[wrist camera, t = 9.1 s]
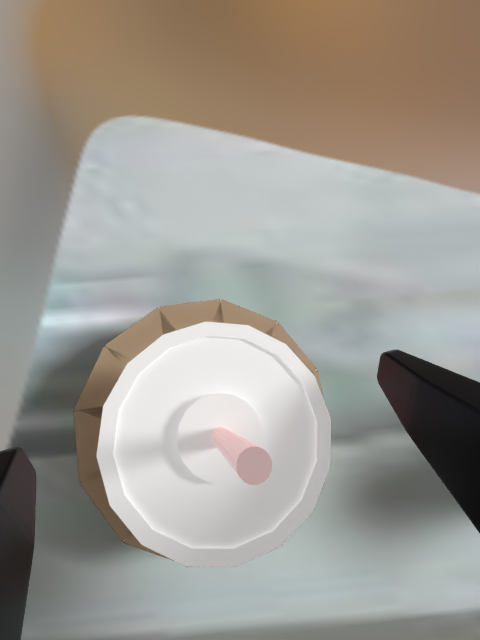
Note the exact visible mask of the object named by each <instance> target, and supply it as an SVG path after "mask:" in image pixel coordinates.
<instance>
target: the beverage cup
mask: <svg viewBox="0 0 480 640" xmlns="http://www.w3.org/2000/svg"><path fill="white" fill-rule="evenodd" d="M96 456H97V460H98V464H99V468H100V471H101V475H102V479H103V483H104V486H105V490H106V494H107V498H108V501H109V505H110V507H111V508H112V509H113V510H114V511H115V513H116V514H117V515H118V516H119V518H120V519H121V520H122V521H123V523H124V524H125V525H126V526H127V528H128V529H129V530H130V531H131V532H132V534H133V535H134V536H135V537H136V539H137V540H138V541H139V542H140V544H141V545H143V546H145V547H147V548H149V549H151V550H153V551H155V552H157V553H159V554H162V555H164V556H166V557H168V558H170V559H172V560H174V561H176V562H178V563H180V564H182V565H184V566H186V567H237V566H239V565H241V564H243V563H245V562H247V561H250V560H252V559H254V558H256V557H258V556H260V555H263V554H265V553H267V552H269V551H271V550H274V549H276V548H278V547H280V546H282V545H283V543H284V542H285V541H286V540H287V539H288V538H289V537H290V536H291V535H292V533H293V532H294V531H295V530H296V529H297V528H298V527H299V526H300V525H301V524H302V522H303V521H304V520H305V519H306V518H307V517H308V516H309V515H310V514H311V513H312V511H313V510H314V509H315V506H316V503H317V501H318V498H319V495H320V493H321V490H322V487H323V485H324V482H325V479H326V477H327V474H328V471H329V469H330V466H331V418H330V415H329V412H328V410H327V407H326V404H325V402H324V399H323V397H322V394H321V391H320V389H319V386H318V383H317V381H316V378H315V376H314V375H313V374H312V373H311V372H310V370H309V369H308V368H307V367H306V366H305V365H304V364H303V363H302V362H301V360H300V359H299V358H298V357H297V356H296V355H295V354H294V353H293V351H292V350H291V349H290V348H289V347H288V346H287V345H286V344H285V343H283V342H281V341H279V340H277V339H275V338H273V337H271V336H269V335H267V334H265V333H263V332H261V331H259V330H257V329H255V328H253V327H251V326H249V325H241V324H229V323H216V322H202V323H199V324H196V325H193V326H189V327H186V328H183V329H180V330H177V331H173V332H170V333H167V334H164V335H162V336H161V337H160V338H158V339H157V340H156V341H155V342H153V343H152V344H151V345H150V346H148V347H147V348H146V349H145V350H144V351H142V352H141V353H140V354H139V355H137V356H136V357H135V358H134V359H132V360H131V361H130V362H129V363H127V365H126V367H125V368H124V370H123V372H122V374H121V375H120V377H119V379H118V381H117V383H116V384H115V386H114V388H113V390H112V391H111V393H110V395H109V397H108V398H107V400H106V402H105V404H104V405H103V411H102V418H101V426H100V433H99V440H98V448H97V455H96Z"/></svg>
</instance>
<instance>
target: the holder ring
mask: <svg viewBox="0 0 480 640" xmlns="http://www.w3.org/2000/svg"><path fill="white" fill-rule="evenodd" d="M159 308H160V310H159ZM159 308H158V307H157V308H156V309H154V310H153V311H152V312H150V313H149V314H147V315H146V316H145V317H143V318H142V319H141V320H139V321H138V322H136V323H135V324H134V325H132V326H131V327H129V328H128V329H127V330H125V331H124V332H122V333H121V334H120V335H118V336H117V337H116V338H114V339H113V340H111V341H110V342H109V343H107V344H106V345H105V346H106V347H107V348H106V347H103V349H102V351H101V353H100V355H99V357H98V360H97V362H96V364H95V366H94V368H93V370H92V372H91V374H90V376H89V378H88V380H87V383H86V385H85V387H84V389H83V391H82V393H81V395H80V397H79V399H78V401H77V404H76V406H75V408H74V409H76V411H74V423H75V436H76V449H77V462H78V475H79V482H82V481H83V482H82V483H80V485H81V486H82V488H83V489H84V490H85V492H86V493H87V495H88V496H89V497H90V499H91V500H92V501H93V503H94V504H95V505H96V507H97V508H98V509H99V511H100V512H101V514H102V515H103V516H104V518H105V519H106V520H107V522H108V523H109V524H110V526H111V527H112V528H113V530H114V531H115V532H116V534H117V535H118V537H119V538H120V539H121V541H124V540H125V542H124V543H126V544H128V545H131V546H134V547H137V548H140V549H142V550H145V551H148V552H151V553H154V554H156V555H159V556H162V557H165V558H168V557H166V556H164V555H162V554H159V553H157V552H155V551H153V550H151V549H149V548H147V547H145V546H143V545H141V544H140V542H139V541H138V540H137V539H136V537H135V536H134V535H133V534H132V532H131V531H130V530H129V529H128V528H127V526H126V525H125V524H124V523H123V521H122V520H121V519H120V518H119V516H118V515H117V514H116V513H115V511H114V510H113V509H112V508H111V507H110V505H109V501H108V498H107V494H106V490H105V486H104V483H103V479H102V475H101V471H100V468H99V464H98V460H97V456H96V455H97V448H98V440H99V433H100V426H101V418H102V411H103V405H104V404H105V402H106V400H107V398H108V397H109V395H110V393H111V391H112V390H113V388H114V386H115V384H116V383H117V381H118V379H119V377H120V375H121V374H122V372H123V370H124V368H125V367H126V365H127V363H129V362H130V361H131V360H132V359H134V358H135V357H136V356H137V355H139V354H140V353H141V352H142V351H144V350H145V349H146V348H147V347H148V346H150V345H151V344H152V343H153V342H155V341H156V340H157V339H158V338H160V337H161V336H162V335H164V334H167V333H170V332H173V331H177V330H180V329H183V328H186V327H189V326H193V325H196V324H199V323H202V322H216V323H229V324H241V325H249V326H251V327H253V328H255V329H257V330H259V331H261V332H263V333H265V334H267V335H269V336H271V337H273V338H275V339H277V340H279V341H281V342H283V343H285V344H286V345H287V346H288V347H289V348H290V349H291V350H292V351H293V353H294V354H295V355H296V356H297V357H298V358H299V359H300V360H301V362H302V363H303V364H304V365H305V366H306V367H307V368H308V369H309V370H310V372H311V373H312V374H313V375H314V376H315V378H316V381H317V383H318V386H319V389H320V391H321V394H322V397H323V393H322V388H321V384H320V379H319V374H318V370H317V371H315V370H316V369H317V368H316V367H315V366H314V365H313V363H312V362H311V361H310V360H309V359H308V357H307V356H306V355H305V354H304V353H303V351H302V350H301V349H300V348H299V347H298V345H297V344H296V343H295V342H294V341H293V339H292V338H291V337H290V336H289V335H288V333H287V332H286V331H285V330H284V329H283V327H282V326H281V325H280V324H279V323H277V321H275V320H272V319H270V318H267V317H265V316H262V315H260V314H257V313H255V312H252V311H250V310H247V309H245V308H242V307H240V306H237V305H235V304H232V303H230V302H227V301H225V300H221V302H220V299H216V300H208V301H200V302H192V303H184V304H176V305H168V306H160V307H159ZM276 323H277V324H276ZM323 399H324V398H323ZM168 559H170V558H168ZM170 560H172V559H170ZM173 561H174V560H173Z"/></svg>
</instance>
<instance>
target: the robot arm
mask: <svg viewBox="0 0 480 640" xmlns="http://www.w3.org/2000/svg"><path fill="white" fill-rule="evenodd" d="M377 379H378V383H379V385H380V387H381V388H382V390H383V392H384V394H385V395H386V397H387V399H388V401H389V402H390V404H391V406H392V408H393V409H394V411H395V413H396V414H397V416H398V418H399V420H400V421H401V423H402V425H403V426H404V428H405V430H406V431H407V433H408V434H409V436H410V437H411V439H412V440H413V441H414V443H415V444H416V446H417V447H418V448H419V450H420V451H421V453H422V454H423V455H424V457H425V458H426V459H427V461H428V462H429V464H430V465H431V466H432V468H433V469H434V471H435V472H436V473H437V475H438V476H439V477H440V479H441V480H442V482H443V483H444V484H445V486H446V487H447V489H448V490H449V491H450V493H451V494H452V495H453V497H454V498H455V500H456V501H457V502H458V504H459V505H460V507H461V508H462V509H463V511H464V512H465V513H466V515H467V516H468V518H469V519H470V520H471V522H472V523H473V525H474V526H475V527H476V529H477V530H478V531H479V533H480V382H477V381H475V380H472V379H470V378H467V377H465V376H462V375H460V374H457V373H455V372H452V371H450V370H447V369H445V368H442V367H440V366H437V365H435V364H432V363H430V362H427V361H425V360H422V359H420V358H417V357H415V356H412V355H410V354H407V353H405V352H402V351H400V350H391V351H387V352H384V353H382V355H381V357H380V362H379V368H378V373H377ZM35 503H36V473H35V470H34V468H33V466H32V464H31V463H30V461H29V459H28V458H27V456H26V455H25V453H24V451H23V450H22V449H21V448H19V447H15V448H11V449H7V450H3V451H0V640H21V633H22V626H23V620H24V613H25V606H26V599H27V592H28V586H29V579H30V572H31V565H32V558H33V550H34V536H35Z"/></svg>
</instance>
